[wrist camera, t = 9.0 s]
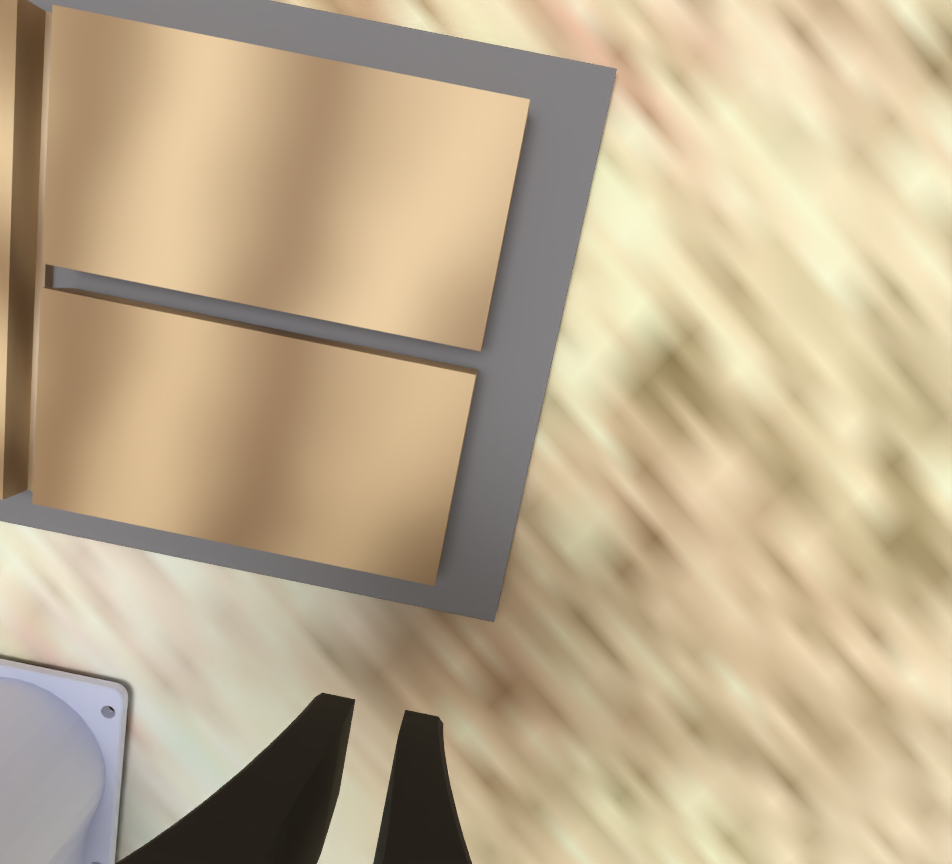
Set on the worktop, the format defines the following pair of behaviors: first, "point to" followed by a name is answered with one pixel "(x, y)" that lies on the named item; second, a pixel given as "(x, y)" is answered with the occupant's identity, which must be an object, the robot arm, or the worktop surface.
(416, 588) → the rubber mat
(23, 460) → the oak panel
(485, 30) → the worktop surface
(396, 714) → the worktop surface
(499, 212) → the oak plank
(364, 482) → the oak plank
